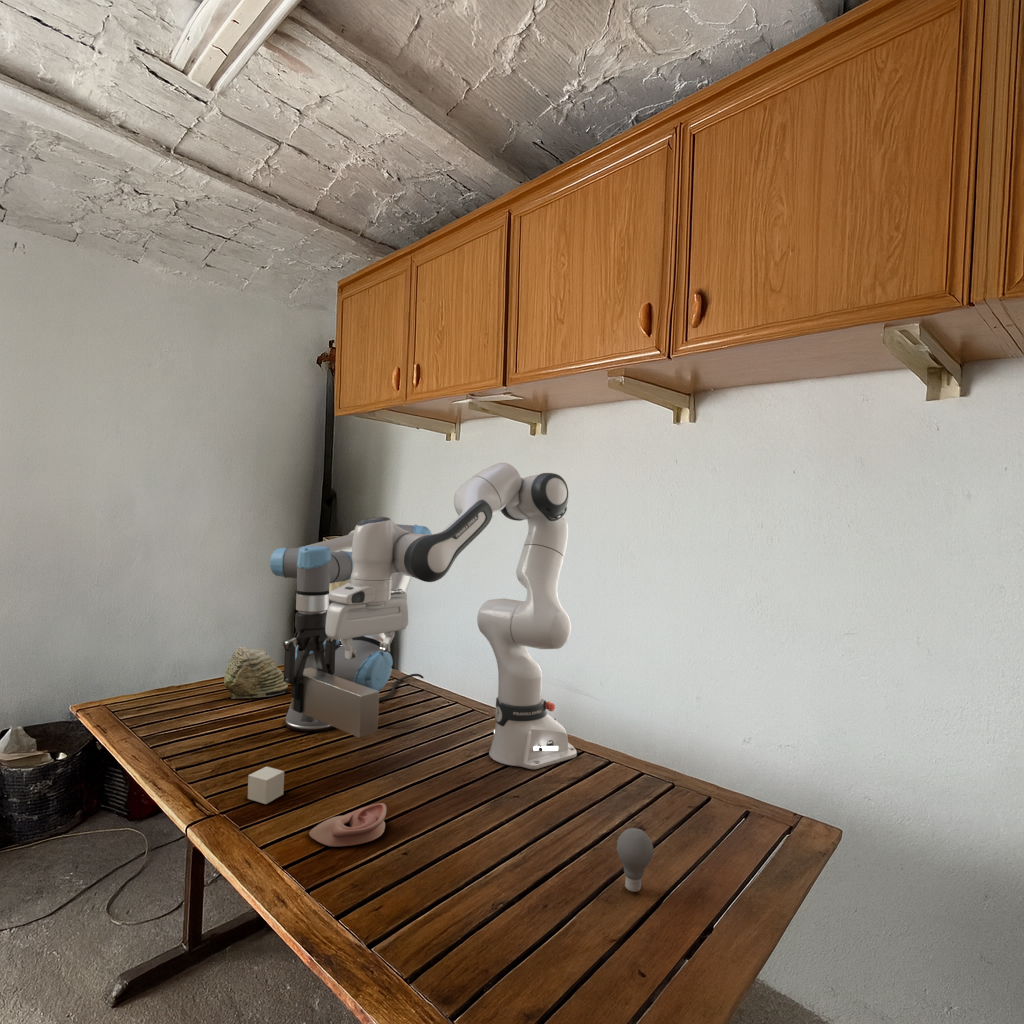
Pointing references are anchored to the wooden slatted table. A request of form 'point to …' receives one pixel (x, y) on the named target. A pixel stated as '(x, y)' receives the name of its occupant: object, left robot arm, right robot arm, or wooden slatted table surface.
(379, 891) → the wooden slatted table surface
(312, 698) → the beam
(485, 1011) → the wooden slatted table surface
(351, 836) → the anatomical model
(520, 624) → the right robot arm
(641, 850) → the light bulb
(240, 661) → the fossil
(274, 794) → the plastic block
